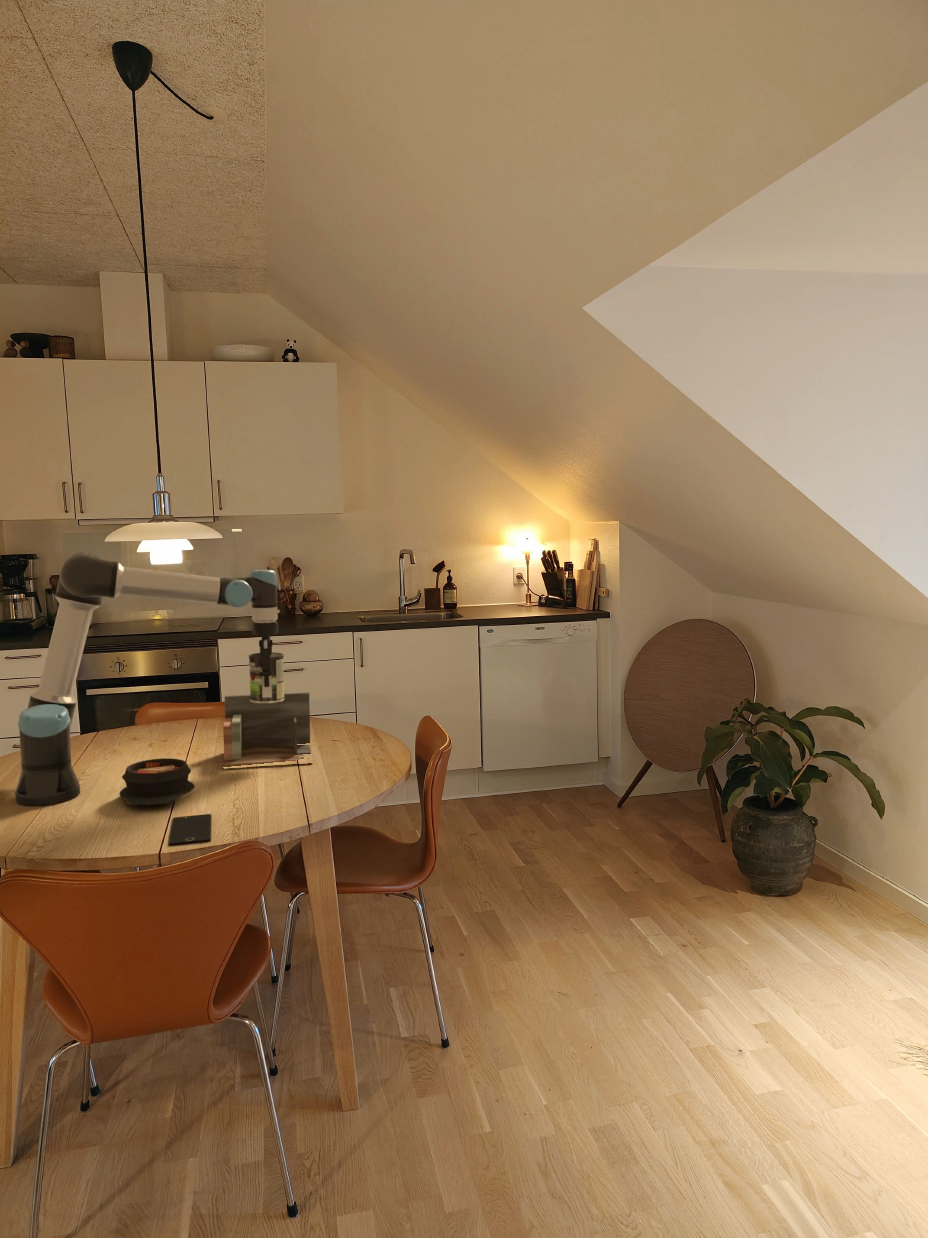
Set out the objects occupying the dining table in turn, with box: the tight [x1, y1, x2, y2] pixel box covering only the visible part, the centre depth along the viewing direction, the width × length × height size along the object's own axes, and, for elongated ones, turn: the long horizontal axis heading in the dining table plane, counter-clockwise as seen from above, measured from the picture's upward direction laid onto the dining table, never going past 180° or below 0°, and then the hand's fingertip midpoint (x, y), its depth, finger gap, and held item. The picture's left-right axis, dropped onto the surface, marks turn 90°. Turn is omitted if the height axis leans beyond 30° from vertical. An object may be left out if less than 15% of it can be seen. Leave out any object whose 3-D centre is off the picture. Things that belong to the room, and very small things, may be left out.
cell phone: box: [168, 813, 212, 847], centre depth 192 cm, size 9×18×1 cm, turn 17°
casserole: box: [119, 757, 196, 806], centre depth 216 cm, size 25×19×8 cm
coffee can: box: [248, 651, 285, 704], centre depth 250 cm, size 10×10×14 cm
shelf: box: [222, 691, 312, 768], centre depth 253 cm, size 20×26×18 cm
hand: (267, 693), depth 251 cm, fingers closed on coffee can, 10 cm apart
